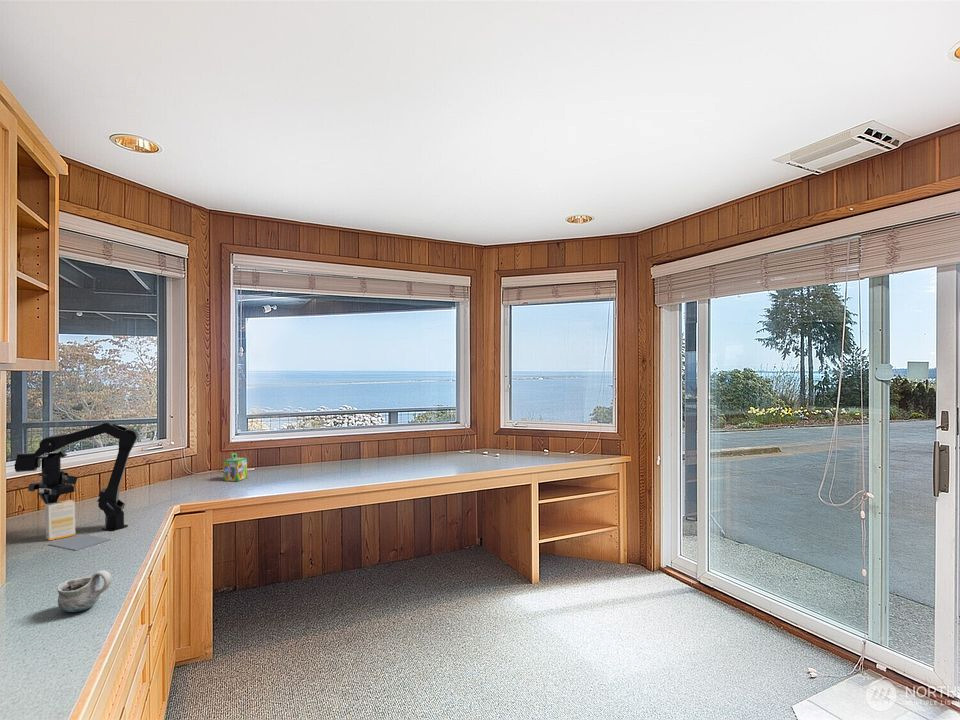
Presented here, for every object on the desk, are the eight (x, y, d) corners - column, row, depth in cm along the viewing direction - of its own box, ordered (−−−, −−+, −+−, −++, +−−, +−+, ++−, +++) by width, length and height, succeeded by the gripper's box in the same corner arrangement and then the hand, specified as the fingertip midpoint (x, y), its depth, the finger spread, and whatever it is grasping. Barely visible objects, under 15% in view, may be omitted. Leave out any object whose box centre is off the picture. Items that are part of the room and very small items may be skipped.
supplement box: (72, 533, 208) (71, 499, 208) (75, 535, 205) (75, 501, 205) (45, 538, 202) (44, 503, 202) (48, 541, 199) (48, 505, 199)
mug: (68, 603, 148) (67, 566, 148) (119, 598, 152) (119, 562, 152) (49, 619, 139) (49, 580, 139) (105, 613, 142) (104, 575, 142)
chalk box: (237, 481, 294) (237, 454, 294) (222, 481, 295) (222, 454, 295) (247, 478, 303) (247, 451, 303) (233, 477, 305) (233, 451, 304)
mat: (110, 540, 200) (110, 539, 200) (76, 550, 189) (76, 549, 189) (83, 534, 206) (83, 533, 206) (47, 544, 195) (47, 543, 195)
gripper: (89, 467, 209) (89, 507, 209) (59, 463, 217) (59, 502, 217) (57, 473, 199) (57, 515, 199) (27, 469, 206) (27, 510, 206)
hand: (51, 510), depth 206 cm, fingers closed
